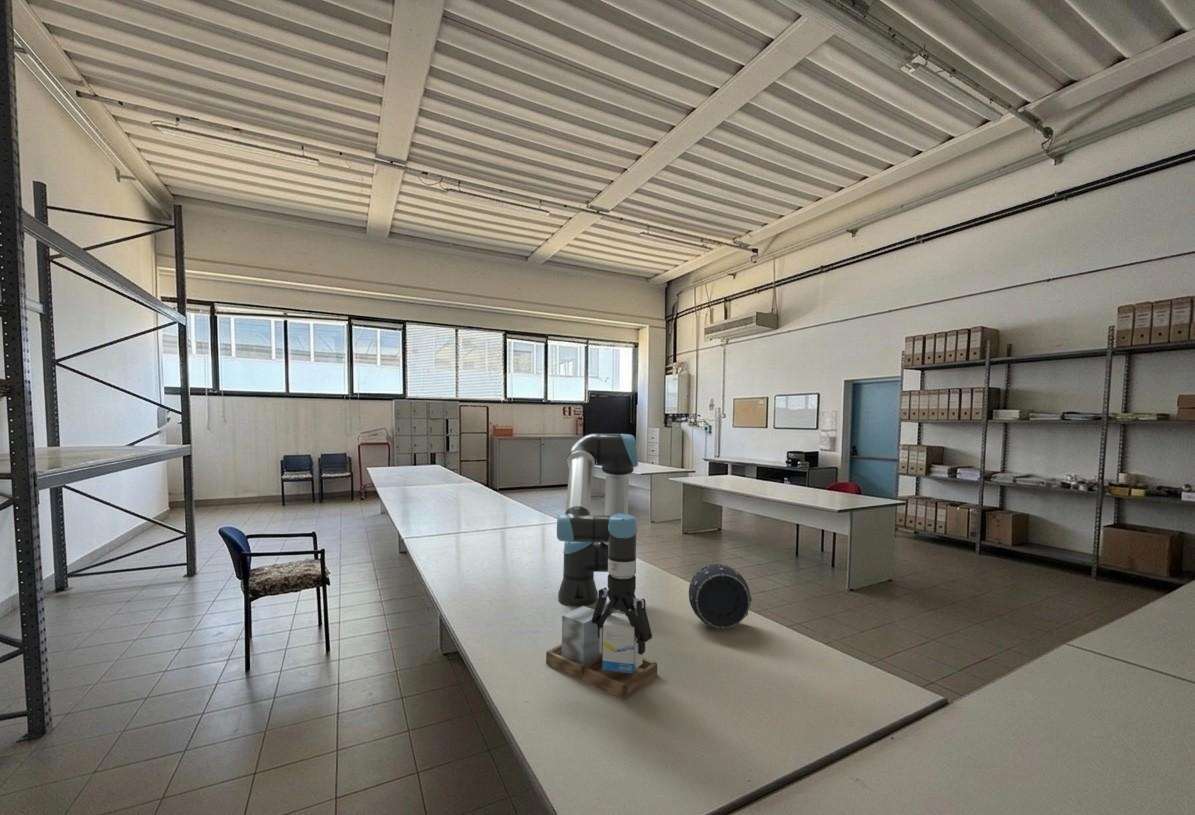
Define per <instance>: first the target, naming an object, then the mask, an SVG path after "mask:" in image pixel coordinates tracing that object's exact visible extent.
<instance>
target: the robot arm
mask: <svg viewBox="0 0 1195 815" xmlns="http://www.w3.org/2000/svg"><path fill="white" fill-rule="evenodd" d="M637 448H638V447H637V443H636V438H635V436H634V435H632V434H628V433H594V432H593V433H589V434H586V435H584V436H582V437H580V438H579V439H578V440H577V441H576V442H574V443H573V445H572V446H571V447H570V450H569V452H568V455H567V466H568V468H569V472H568V481H567V482H568V483H567V493H566V504H565V512H564V514H559V515H558V516H557V519H556V537H557V540H558V541H559V542H564V544H563V552H562V553H563V574H562V576H563V577H562V581H561V584H560V587H559V590H558V592H557V594H558V596H557V598H558V599H557V600H558V601H559V602H560V603H561V604H563V605H565V606H566V605H567V606H573V607H581V606H585V607H587V606H590V605H593V604H595V603H596V604H595V608H594V610H595V611H594V614H593V617H592V622H593V623H596V624H597V627H598V638H599V653H603V624H604V622H605V620H606V618H607V617H608V616H609V615H611V614H612V613H614V611H615V610H616V611H620V612H622V613H623V614H625V615H626V616H627V617H628V619H629V622H630V624H631V626H632V627H634V628H635V636H636V638H637V640H636V641H635V653H634V667H636V668H637V667H639V666H640V665H641V664H643V658H644V656H643V654H644V653H646V643H647V642H648V641H650V640H651V639H653V634H652V629H651V626H650V622H649V617H648V613H647V610H646V599H645V598H641V599H640V598H636V594H635V593H636V588H637V586H636V585H637V584H636V582H637V580H636V579H637V577H636V573H637V532H638V528H637V526H638V525H637V518H636V517H635V516H633V515H631V514H629V512H628V511H629V493H630V492H629V489H630V488H629V487H630V475H632V474H633V472H634V469H635V468H636V467H638V466H639V459H638V451H637V450H638V449H637ZM595 466H597V467H601V472H602V473H604V474H605V487H604V488H605V493H604V495H605V496H604V497H605V498H604V500H605V501H604V515H594V514H593V515H592V514H591V502H592V501H591V500H592V499H591V497H592V472H593V469H594V467H595ZM595 572H596V573H608V574H607V587H603V588H600V589H598V590H597V585H596V582H595V578H594V577H595ZM608 599H609V602H608V604H607V605H606V603H607V600H608ZM605 605H606V608H605ZM604 609H605V610H604ZM602 612H603V615H602Z"/></svg>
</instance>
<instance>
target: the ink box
mask: <svg viewBox="0 0 1195 815" xmlns="http://www.w3.org/2000/svg"><path fill="white" fill-rule="evenodd" d="M636 640H637V638H636V636H635V628H634V627H632V626H631V624H630V622H629V619H628V617H627V616H626V615H625V613H619V612H618V613H617V612H616V613H614V612H612V614H611V615H609V616H608V617H607V618H606V620H605V622H604V624H603V661H602V669H603V670H607V671H614V672H622V673H631V674H634V671H635V667H634V653H635V641H636Z"/></svg>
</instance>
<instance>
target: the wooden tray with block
mask: <svg viewBox="0 0 1195 815" xmlns="http://www.w3.org/2000/svg"><path fill="white" fill-rule="evenodd" d="M594 611H595V608H594V609H593V608H590V607H587V606H578V607H577V608H575V609H572V610H570V611H568V612H567V613H564V614H562V615H561V616H562V618H561V644H558V645H557V646H554V647H553V648H551V649H549V650H547V651H546V654H545V663H546V664H548V665H550V666H552V667H554V668H556V669H558V670H561V671H562V672H565V673H567V674H569V675H571V676H573V677H575V678H578V679H580V680H581V681H583V682H586V683H588V684H590V685H591V686H595V687H596V688H599V689H601V690H603V691H606V692H608V693H609V694H611V695H613V696H616V697H618V698H620V699H623V700H624V701H626V700H627V699H628V698H630V697H631V696H632V695H634V694H635V693H637V691H639V690H640V689H641V688H643V687H644V686H645V685H646V684H648V682H650V681H651V680H653V679H654V678H655V677H657V675H658V663H657V662H655V661H652V660H650V659H647V658H644V657H643V664H641V665H640V666H639V667H637V668H636V667H635V671H634V674H631V673H622V672H614V671H607V670H603V669H602V661H603V653H599V638H598V627H597V624H596V623H593V622H592V617H593V614H594ZM603 613H604V611H603V612H602V615H603Z"/></svg>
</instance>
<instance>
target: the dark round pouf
mask: <svg viewBox="0 0 1195 815" xmlns="http://www.w3.org/2000/svg"><path fill="white" fill-rule="evenodd" d="M688 600H689V604H690V606H691V609H692V611H693V612H694V614H695V615H696V616H697V618H698V619H699V620H700V621H702V623H704V626H709V627H712V628H716V629H719V630H724V629H729V628H733V627H737V626H738V625H739V624H740V623H741V622H742V621H743V620H744V619H745V618H746V617H747V616H748V615H749V610H750V606H751V604H752V600H753V599H752V596H751V591H750V588H749V584H748V582H747V581H746V580H745V579H744V577H743V575H742V574H740V573H739V572H738V571H737V570H736V569H734V568H732V567H730V566H729V565H726V564H721V563H714V564H713V563H712V564H708V565H705V566H703V567H701V568H700V569H699V570H697V571H696V573H695V574H694V575H693V576H692V578H691V580H690V583H689V587H688Z"/></svg>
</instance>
